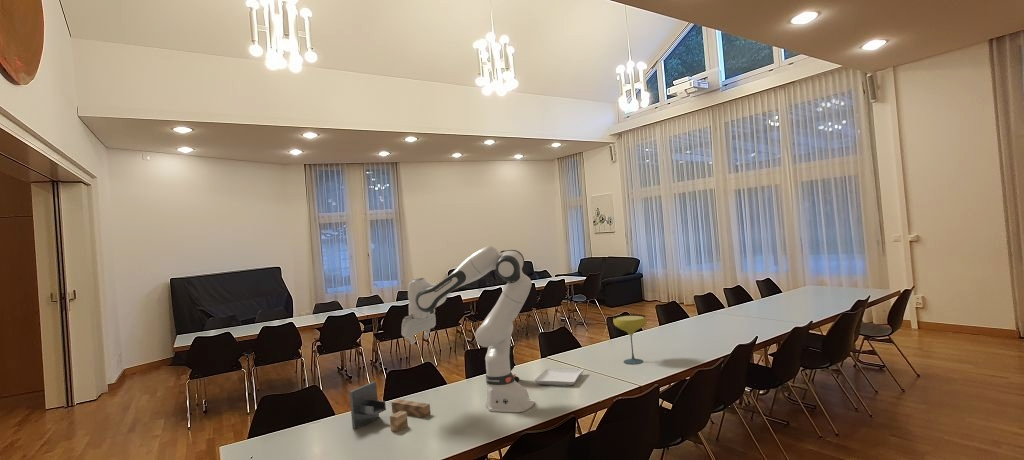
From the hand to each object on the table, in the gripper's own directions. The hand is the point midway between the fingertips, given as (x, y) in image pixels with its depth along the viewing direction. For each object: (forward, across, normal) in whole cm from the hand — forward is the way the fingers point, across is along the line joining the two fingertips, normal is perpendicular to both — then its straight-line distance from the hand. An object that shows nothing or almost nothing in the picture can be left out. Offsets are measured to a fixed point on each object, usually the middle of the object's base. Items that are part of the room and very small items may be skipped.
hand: (419, 341), depth 227 cm
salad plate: (+29, +52, -48) cm, 76 cm away
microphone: (+31, +42, -21) cm, 56 cm away
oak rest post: (+29, -25, -10) cm, 40 cm away
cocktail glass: (+28, +93, -74) cm, 122 cm away
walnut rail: (+30, -11, -3) cm, 32 cm away
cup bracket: (+30, -26, +6) cm, 40 cm away
